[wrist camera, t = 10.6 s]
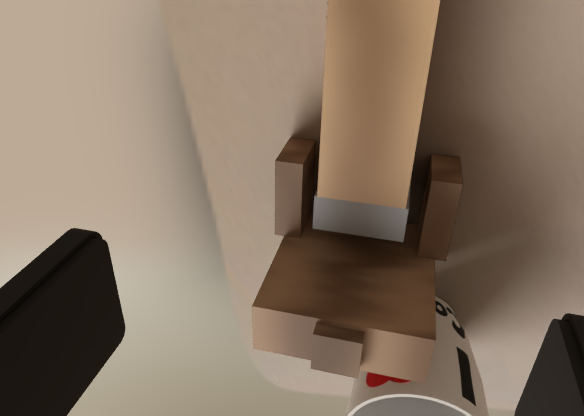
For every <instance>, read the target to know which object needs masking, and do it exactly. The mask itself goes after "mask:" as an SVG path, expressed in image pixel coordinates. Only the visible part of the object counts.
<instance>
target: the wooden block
mask: <svg viewBox="0 0 584 416" xmlns="http://www.w3.org/2000/svg"><path fill="white" fill-rule="evenodd" d="M439 5H440V0H328V9H327V27H326V45H325V63H324V81H323V99H322V117H321V135H320V154H319V172H318V188H317V191H316V193H315V196H314V211H313V229H319V230H326V231H332V232H339V233H346V234H352V235H359V236H365V237H372V238H378V239H385V240H392V241H398V242H403V241H404V235H405V229H406V223H407V217H408V211H409V200H410V187H411V174H412V168H413V162H414V156H415V150H416V144H417V138H418V132H419V126H420V120H421V114H422V108H423V102H424V96H425V90H426V84H427V77H428V71H429V65H430V59H431V53H432V47H433V41H434V35H435V29H436V23H437V17H438V11H439Z"/></svg>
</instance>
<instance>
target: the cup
mask: <svg viewBox="0 0 584 416" xmlns="http://www.w3.org/2000/svg"><path fill="white" fill-rule="evenodd" d="M435 304H436V343H435V347H434V351H433V355H432V359H431V363H430V367H429V372H428V376H427V380H426V384H425V383H420V382H415V381H410V380H405V379H400V378H395V377H391V376H386V375H381V374H376V373H371V372H366V371H361V370H359V377H358V378H355V379H354V383H353V388H352V392H351V396H350V400H349V405H348V408H347V413H346V416H488V410H487V405H486V400H485V394H484V389H483V384H482V380H481V377H480V374H479V371H478V368H477V365H476V362H475V359H474V356H473V352H472V349H471V346H470V343H469V340H468V338H467V335H466V333H465V332H464V330H463V328H462V326H461V324H460V323H459V321H458V319H457V317H456V315H455V314H454V312H453V310H452V309H451V307H450V306H449V305H448V304H447V303H446V302H444V301H443V300H442V299H440V298H438V297H436V296H435Z"/></svg>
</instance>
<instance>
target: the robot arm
mask: <svg viewBox="0 0 584 416" xmlns="http://www.w3.org/2000/svg"><path fill="white" fill-rule="evenodd" d="M124 333H125V323H124V318H123V314H122V309H121V304H120V300H119V295H118V290H117V285H116V281H115V276H114V272H113V266H112V262H111V257H110V252H109V248H108V244H107V242H106V241H105V240H103V239H102V236H101V235H100V234H99V233H97V232H94V231H89V230H82V229H77V228H73V229H70V230H68V231H67V232H66V233H65V234H63V235H62V236H61V237H60V238H59V239H57V240H56V241H55V242H54V243H53V244H52V245H51V246H49V247H48V248H47V249H46V250H45V251H43V252H42V253H41V254H40V255H39V256H38V257H36V258H35V259H34V260H33V261H32V262H31V263H29V264H28V265H27V266H26V267H25V268H24V269H22V270H21V271H20V272H19V273H18V274H16V275H15V276H14V277H13V278H12V279H11V280H9V281H8V282H7V283H6V284H5V285H4V286H2V287H1V288H0V416H67V414H68V413H69V412H70V410H71V409H72V408H73V406H74V405H75V404H76V402H77V401H78V400H79V398H80V397H81V396H82V394H83V393H84V391H85V390H86V389H87V387H88V386H89V385H90V383H91V382H92V381H93V379H94V378H95V377H96V375H97V374H98V372H99V371H100V370H101V368H102V367H103V366H104V364H105V363H106V362H107V360H108V359H109V358H110V356H111V355H112V354H113V352H114V351H115V350H116V348H117V347H118V345H119V344H120V343H121V341H122V339H123V337H124ZM515 416H584V316H581V315H575V314H569V313H568V314H565V315H564V316H563V318H562V320H558V319H553V320H552V322H551V324H550V326H549V328H548V331H547V333H546V336H545V338H544V341H543V343H542V346H541V348H540V351H539V353H538V356H537V358H536V361H535V363H534V366H533V368H532V371H531V373H530V375H529V378H528V380H527V383H526V385H525V388H524V390H523V393H522V395H521V398H520V400H519V403H518V405H517V408H516V411H515Z"/></svg>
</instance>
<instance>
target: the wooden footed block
mask: <svg viewBox="0 0 584 416" xmlns="http://www.w3.org/2000/svg"><path fill="white" fill-rule="evenodd" d="M314 156H315V140H306V139H297V138H290V139H289V140H288V142H287V143H286V145H285V146H284V148H283V150H282V151H281V153H280V154H279V156H278V157H277V159H276V161H275V235H282V236H284V238H283V240H282V242H281V244H280V247H279V249H278V251H277V253H276V255H275V257H274V260H273V262H272V264H271V266H270V268H269V270H268V273H267V275H266V277H265V279H264V281H263V283H262V286H261V288H260V290H259V292H258V294H257V297H256V299H255V301H254V303H253V305H252V322H253V348H254V349H258V350H263V351H268V352H273V353H278V354H283V355H288V356H293V357H298V358H302V359H307V360H311V369H315V370H320V371H324V372H329V373H334V374H339V375H344V376H348V377H353V378H358V377H359V370H361V371H366V372H371V373H376V374H381V375H386V376H391V377H395V378H400V379H405V380H410V381H415V382H420V383H425V384H426V380H427V376H428V372H429V367H430V363H431V359H432V355H433V351H434V347H435V343H436V304H435V259H436V260H442V261H446V257H447V253H448V248H449V244H450V240H451V235H452V231H453V227H454V222H455V218H456V213H457V209H458V205H459V200H460V196H461V192H462V187H463V180H462V172H461V163H460V157H453V156H445V155H436V154H432V155H431V160H430V165H429V171H428V176H427V182H426V187H425V192H424V198H423V203H422V209H421V214H420V219H419V225H414V224H407V223H406V229H405V235H404V241H403V242H398V241H392V240H385V239H378V238H372V237H365V236H359V235H352V234H346V233H339V232H332V231H326V230H319V229H313V211H314V210H312V197H313V177H314Z"/></svg>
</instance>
